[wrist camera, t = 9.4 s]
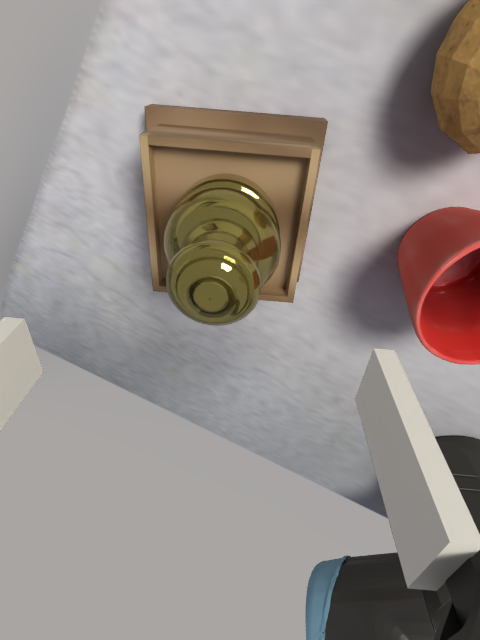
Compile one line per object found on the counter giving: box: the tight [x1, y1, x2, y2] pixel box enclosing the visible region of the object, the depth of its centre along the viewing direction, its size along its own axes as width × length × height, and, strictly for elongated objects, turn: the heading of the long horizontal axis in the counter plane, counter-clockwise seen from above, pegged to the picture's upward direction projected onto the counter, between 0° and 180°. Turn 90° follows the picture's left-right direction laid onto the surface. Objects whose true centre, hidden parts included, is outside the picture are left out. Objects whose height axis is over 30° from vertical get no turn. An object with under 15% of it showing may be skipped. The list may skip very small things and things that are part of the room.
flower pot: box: [397, 207, 480, 365], centre depth 28 cm, size 11×11×10 cm
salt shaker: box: [163, 173, 281, 326], centre depth 22 cm, size 7×7×10 cm
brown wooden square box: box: [139, 104, 328, 303], centre depth 28 cm, size 13×13×7 cm
